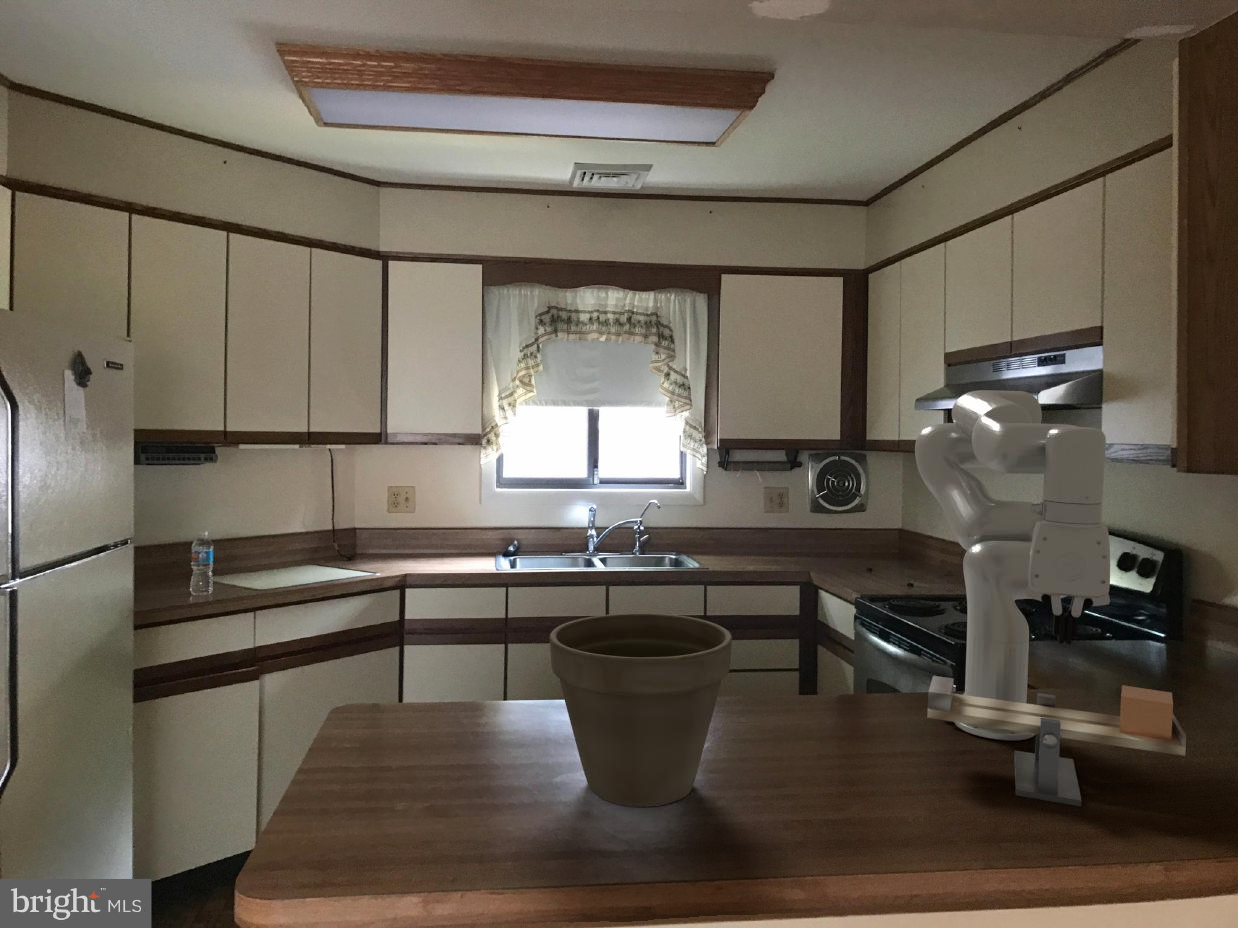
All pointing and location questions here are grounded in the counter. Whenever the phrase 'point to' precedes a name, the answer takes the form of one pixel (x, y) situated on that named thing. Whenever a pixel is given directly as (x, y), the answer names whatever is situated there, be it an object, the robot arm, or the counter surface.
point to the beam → (1029, 716)
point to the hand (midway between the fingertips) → (1064, 641)
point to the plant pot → (640, 700)
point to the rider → (1146, 712)
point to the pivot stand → (1047, 765)
